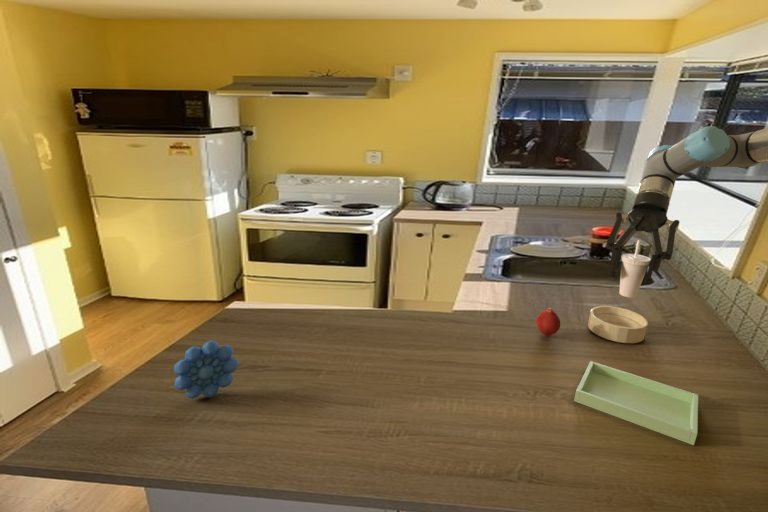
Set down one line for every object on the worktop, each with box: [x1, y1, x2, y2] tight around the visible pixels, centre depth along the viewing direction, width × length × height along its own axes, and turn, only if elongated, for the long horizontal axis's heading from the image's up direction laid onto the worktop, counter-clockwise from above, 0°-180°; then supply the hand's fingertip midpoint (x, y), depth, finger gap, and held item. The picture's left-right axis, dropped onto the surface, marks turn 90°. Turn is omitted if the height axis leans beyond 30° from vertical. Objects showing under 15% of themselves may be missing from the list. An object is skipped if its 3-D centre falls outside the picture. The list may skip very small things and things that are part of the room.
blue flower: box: [173, 340, 239, 400], centre depth 81 cm, size 12×7×12 cm, turn 106°
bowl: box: [587, 305, 649, 344], centre depth 112 cm, size 13×13×4 cm
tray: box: [573, 360, 699, 446], centre depth 83 cm, size 20×14×2 cm
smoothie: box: [619, 239, 652, 299], centre depth 102 cm, size 6×6×14 cm
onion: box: [535, 307, 561, 338], centre depth 108 cm, size 6×6×8 cm
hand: (630, 277), depth 99 cm, fingers closed on smoothie, 6 cm apart
